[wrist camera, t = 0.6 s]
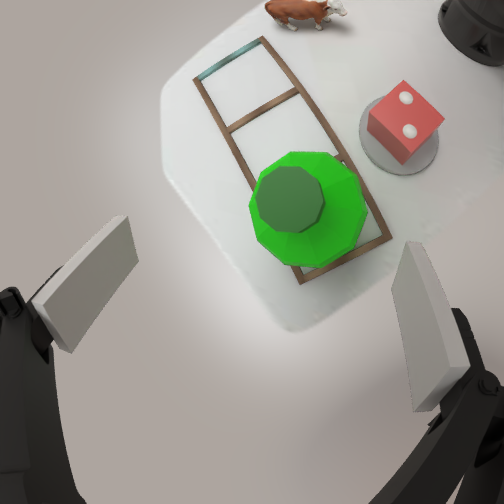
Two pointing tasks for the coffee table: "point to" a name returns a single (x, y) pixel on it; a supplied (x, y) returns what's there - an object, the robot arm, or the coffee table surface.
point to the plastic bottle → (308, 209)
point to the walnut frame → (342, 152)
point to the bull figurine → (303, 10)
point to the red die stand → (400, 131)
